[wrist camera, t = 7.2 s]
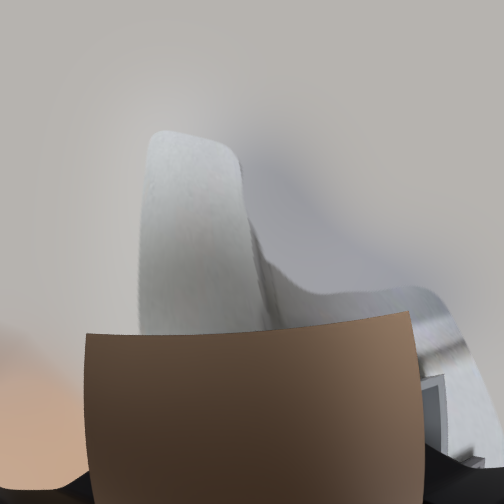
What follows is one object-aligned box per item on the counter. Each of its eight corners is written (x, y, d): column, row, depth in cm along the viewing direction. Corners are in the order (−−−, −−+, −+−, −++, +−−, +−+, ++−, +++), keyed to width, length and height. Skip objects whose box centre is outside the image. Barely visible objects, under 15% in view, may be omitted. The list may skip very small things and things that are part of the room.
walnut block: (312, 448, 13) (410, 569, 1) (228, 454, 13) (118, 577, 1) (306, 371, 16) (408, 310, 4) (223, 378, 16) (86, 333, 4)
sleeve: (430, 456, 15) (447, 461, 13) (348, 482, 16) (358, 493, 13) (426, 377, 19) (443, 374, 16) (343, 397, 19) (354, 398, 17)
